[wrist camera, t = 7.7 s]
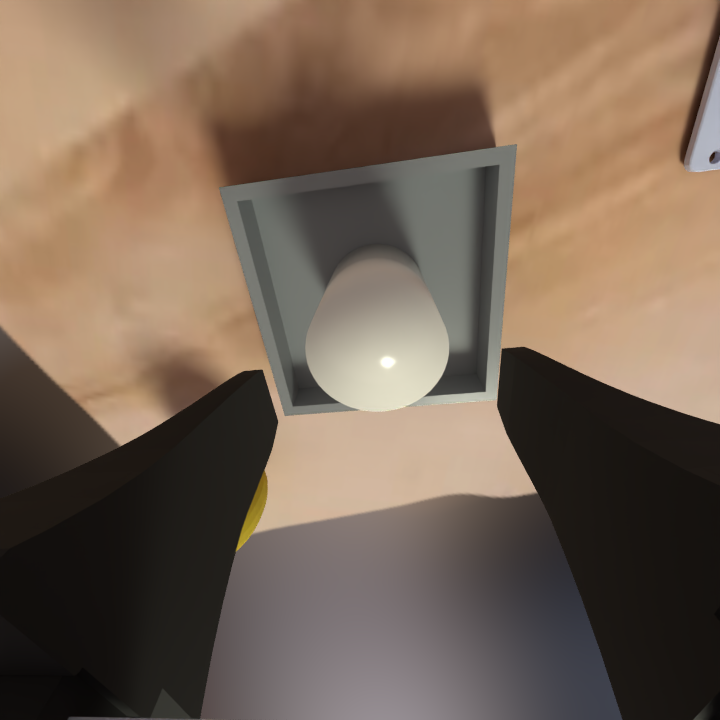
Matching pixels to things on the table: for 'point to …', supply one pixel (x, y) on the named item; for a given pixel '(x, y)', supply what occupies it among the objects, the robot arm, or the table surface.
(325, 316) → the capsule
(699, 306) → the table surface
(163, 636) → the robot arm
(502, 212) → the tray
